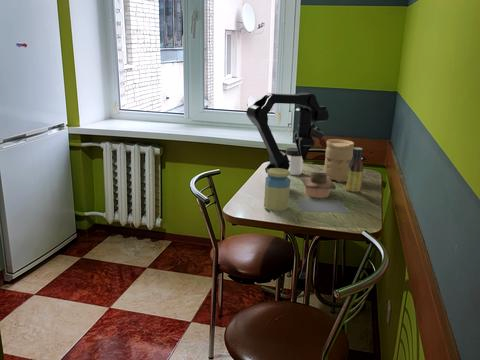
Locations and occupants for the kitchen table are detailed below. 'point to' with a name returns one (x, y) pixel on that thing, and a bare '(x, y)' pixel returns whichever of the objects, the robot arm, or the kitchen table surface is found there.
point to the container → (338, 159)
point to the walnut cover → (318, 181)
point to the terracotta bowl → (317, 192)
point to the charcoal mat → (322, 206)
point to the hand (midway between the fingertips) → (302, 157)
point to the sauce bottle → (355, 171)
